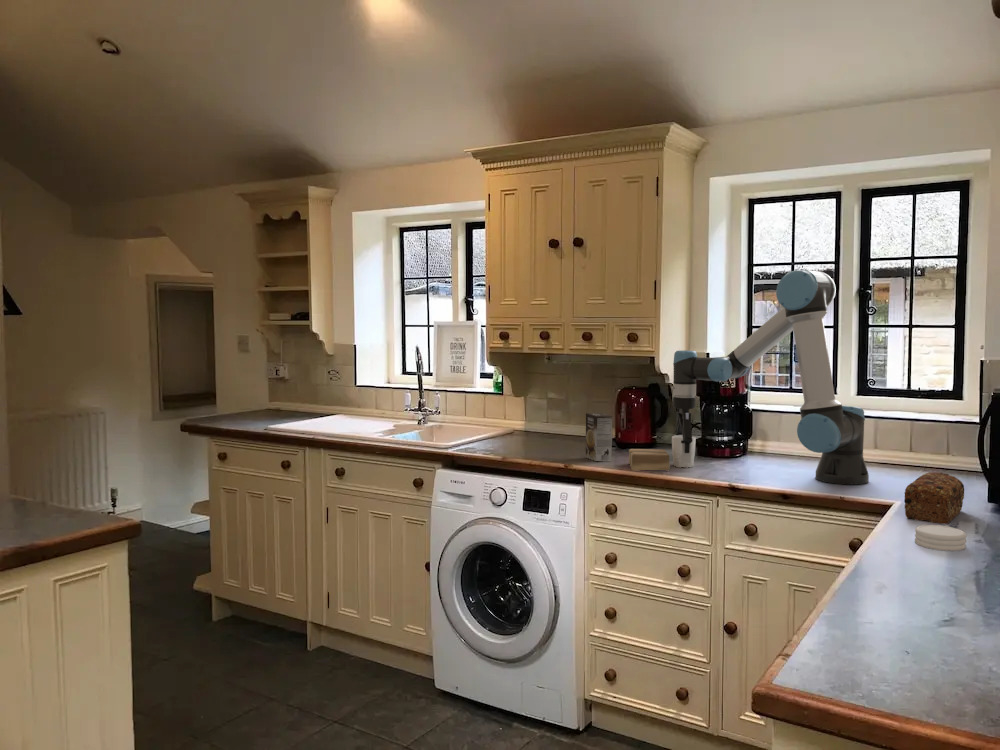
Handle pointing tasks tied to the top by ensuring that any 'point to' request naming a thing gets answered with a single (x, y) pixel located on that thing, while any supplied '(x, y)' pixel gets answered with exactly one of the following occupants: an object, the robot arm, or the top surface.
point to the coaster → (940, 538)
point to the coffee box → (598, 436)
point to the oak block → (648, 459)
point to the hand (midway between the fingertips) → (683, 458)
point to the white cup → (678, 451)
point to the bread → (934, 498)
